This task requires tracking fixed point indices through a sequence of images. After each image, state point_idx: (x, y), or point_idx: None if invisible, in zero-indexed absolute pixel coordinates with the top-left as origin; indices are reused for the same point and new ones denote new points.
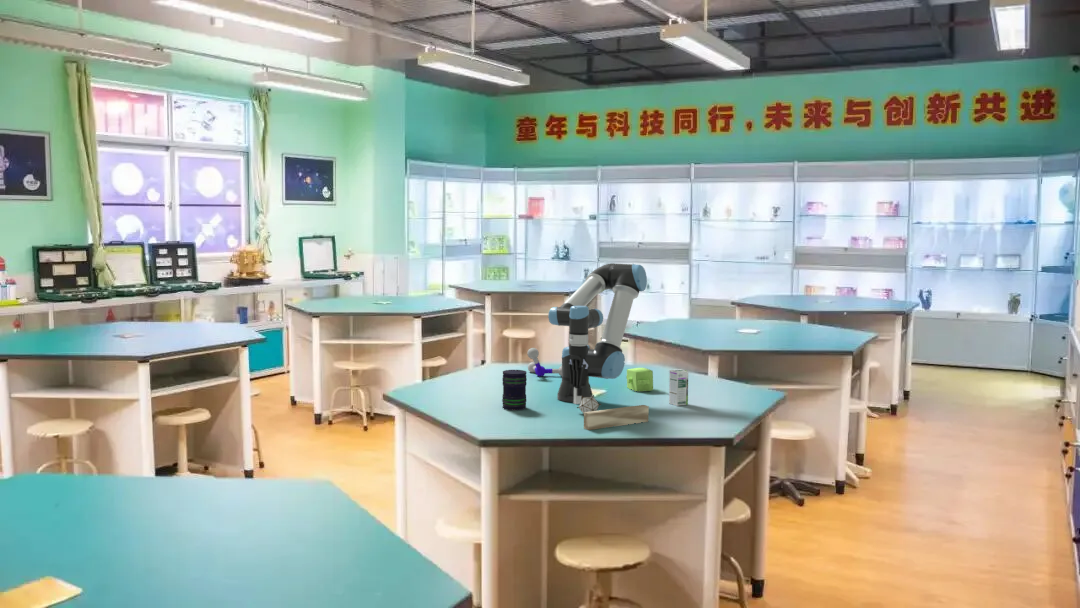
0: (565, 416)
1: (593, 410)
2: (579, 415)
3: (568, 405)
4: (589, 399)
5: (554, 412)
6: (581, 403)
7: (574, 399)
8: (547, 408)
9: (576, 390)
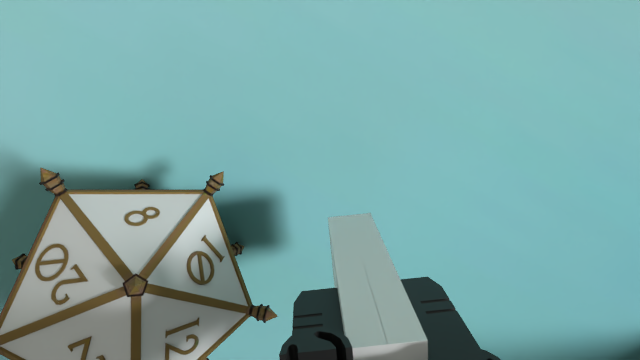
0: (224, 28)
1: (13, 261)
2: None
3: (618, 271)
4: (12, 318)
5: (434, 11)
6: (125, 215)
7: (358, 235)
8: (627, 34)
9: (345, 327)
